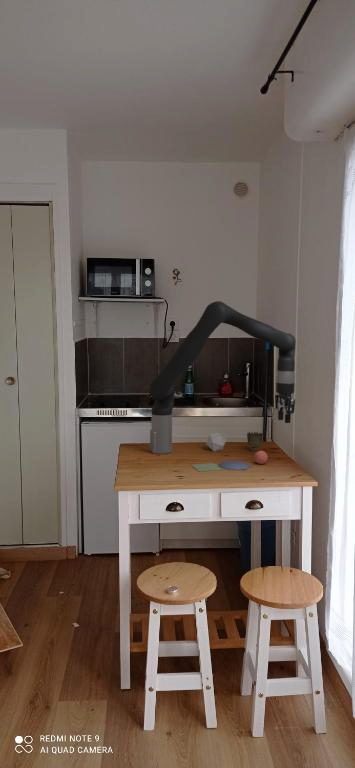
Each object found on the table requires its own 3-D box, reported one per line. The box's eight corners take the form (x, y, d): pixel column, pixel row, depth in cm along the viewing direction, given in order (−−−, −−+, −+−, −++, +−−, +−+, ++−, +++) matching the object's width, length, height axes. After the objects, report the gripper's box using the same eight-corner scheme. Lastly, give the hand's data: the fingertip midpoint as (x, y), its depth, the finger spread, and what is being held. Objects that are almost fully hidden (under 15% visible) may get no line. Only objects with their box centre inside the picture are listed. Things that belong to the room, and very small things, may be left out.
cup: (262, 452, 261) (262, 435, 260) (245, 451, 263) (246, 434, 262) (263, 449, 268) (263, 432, 267) (247, 448, 270) (247, 431, 269)
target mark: (225, 470, 231) (225, 470, 231) (213, 462, 243) (213, 462, 243) (255, 468, 235) (255, 468, 235) (242, 460, 247) (242, 460, 247)
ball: (257, 465, 239) (257, 452, 238) (252, 462, 244) (252, 449, 244) (269, 465, 241) (270, 452, 240) (264, 461, 246) (264, 449, 245)
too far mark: (198, 471, 230) (198, 471, 230) (191, 465, 239) (191, 464, 239) (222, 469, 232) (222, 469, 232) (214, 463, 242) (214, 463, 242)
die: (218, 448, 271) (206, 432, 270) (232, 441, 267) (220, 425, 265) (212, 458, 265) (199, 441, 263) (226, 451, 260) (214, 435, 258)
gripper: (269, 379, 247) (268, 418, 249) (285, 384, 233) (283, 425, 235) (285, 379, 249) (284, 418, 251) (302, 383, 235) (300, 424, 237)
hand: (284, 421), depth 243 cm, fingers open, 5 cm apart
